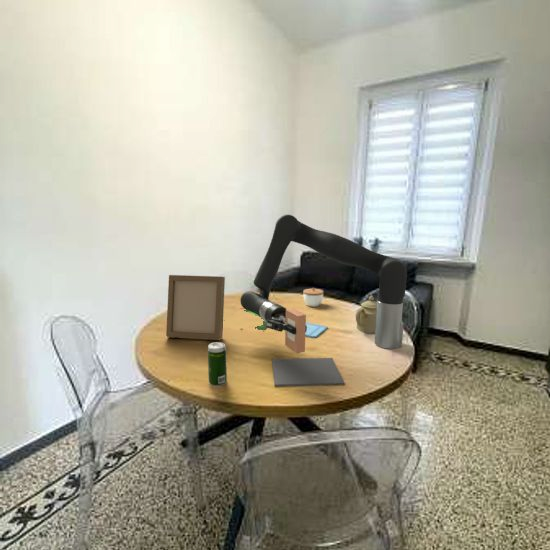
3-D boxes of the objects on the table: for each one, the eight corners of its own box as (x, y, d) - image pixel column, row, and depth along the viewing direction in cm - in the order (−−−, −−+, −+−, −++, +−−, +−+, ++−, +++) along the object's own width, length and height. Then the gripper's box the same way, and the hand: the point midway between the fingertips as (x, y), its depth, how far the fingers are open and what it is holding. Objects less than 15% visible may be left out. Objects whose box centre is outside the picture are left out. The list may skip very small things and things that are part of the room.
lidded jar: (312, 301, 191) (313, 284, 189) (327, 305, 183) (328, 288, 181) (298, 304, 184) (299, 287, 182) (313, 309, 176) (313, 291, 174)
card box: (293, 343, 112) (294, 308, 110) (304, 351, 106) (306, 314, 104) (284, 345, 111) (285, 309, 108) (296, 353, 105) (297, 316, 102)
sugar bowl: (381, 338, 139) (384, 302, 136) (354, 334, 142) (355, 299, 139) (383, 326, 152) (385, 293, 149) (357, 323, 156) (359, 291, 153)
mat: (332, 359, 120) (332, 357, 120) (344, 384, 103) (344, 382, 103) (271, 360, 118) (271, 359, 118) (274, 386, 102) (274, 384, 102)
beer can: (230, 382, 104) (229, 345, 102) (216, 389, 100) (214, 350, 98) (219, 376, 108) (218, 340, 105) (205, 382, 104) (203, 345, 101)
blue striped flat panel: (315, 339, 138) (315, 336, 138) (288, 333, 144) (288, 331, 144) (327, 329, 150) (327, 326, 149) (302, 324, 156) (302, 321, 155)
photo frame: (219, 342, 134) (217, 279, 129) (166, 339, 137) (162, 277, 132) (229, 329, 148) (228, 272, 143) (181, 326, 151) (178, 270, 146)
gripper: (255, 306, 115) (280, 322, 100) (291, 301, 122) (319, 315, 107) (255, 327, 117) (280, 346, 102) (291, 321, 123) (319, 338, 108)
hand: (300, 330), depth 105 cm, fingers closed on card box, 3 cm apart
